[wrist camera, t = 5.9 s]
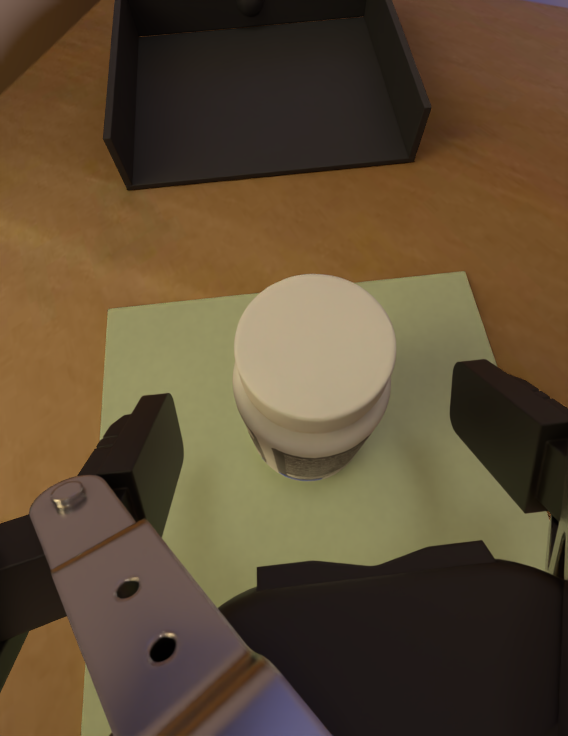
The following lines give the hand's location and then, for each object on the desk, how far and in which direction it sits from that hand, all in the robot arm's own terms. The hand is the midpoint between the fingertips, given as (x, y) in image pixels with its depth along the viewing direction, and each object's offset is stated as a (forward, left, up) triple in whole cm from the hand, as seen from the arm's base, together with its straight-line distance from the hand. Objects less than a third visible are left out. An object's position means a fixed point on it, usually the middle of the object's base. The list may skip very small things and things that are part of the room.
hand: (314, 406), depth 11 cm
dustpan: (+24, +11, -6) cm, 27 cm away
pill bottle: (+1, 0, -6) cm, 6 cm away
